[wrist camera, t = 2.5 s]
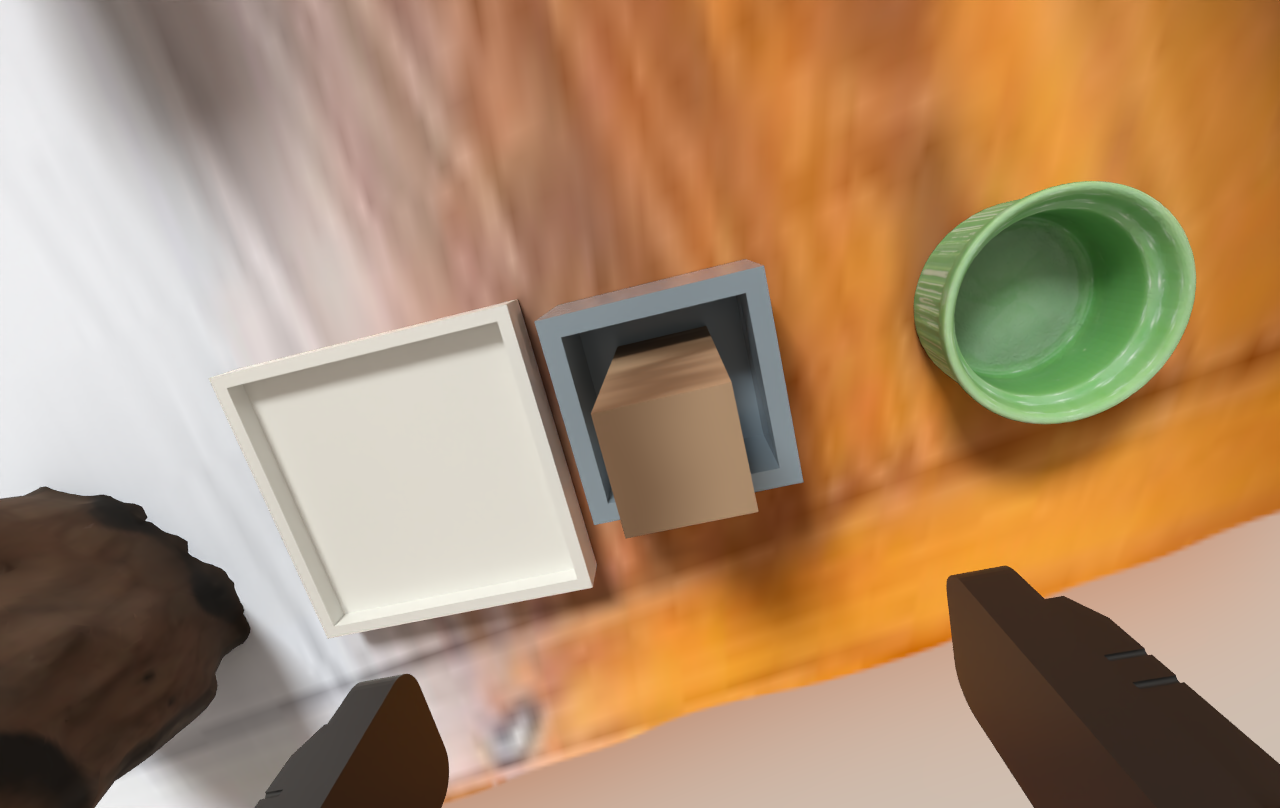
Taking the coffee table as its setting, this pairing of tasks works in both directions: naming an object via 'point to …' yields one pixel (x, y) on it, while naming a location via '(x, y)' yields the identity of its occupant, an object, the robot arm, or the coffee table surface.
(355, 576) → the cream tray
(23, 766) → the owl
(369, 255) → the coffee table surface
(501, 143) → the coffee table surface
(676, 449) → the walnut peg
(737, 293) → the blue-grey open box
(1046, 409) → the ramekin
